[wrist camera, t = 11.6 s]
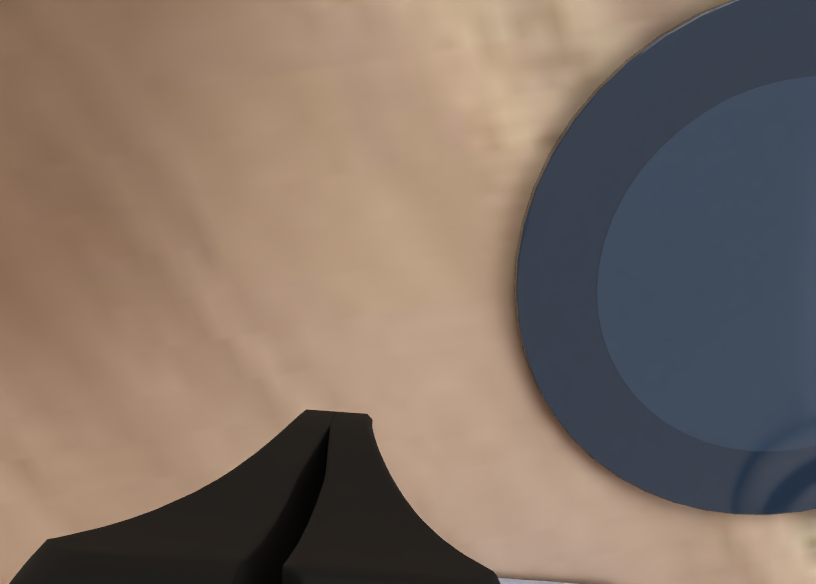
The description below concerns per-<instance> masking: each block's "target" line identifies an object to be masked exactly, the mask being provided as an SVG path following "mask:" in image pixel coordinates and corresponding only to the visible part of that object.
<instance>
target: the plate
mask: <svg viewBox="0 0 816 584" xmlns="http://www.w3.org/2000/svg"><path fill="white" fill-rule="evenodd" d="M514 291H515V302H516V314H517V323H518V327H519V332H520V336H521V340H522V345H523V349H524V353H525V356H526V359H527V361H528V364H529V366H530V369H531V371H532V374H533V377H534V379H535V382H536V384H537V387H538V388H539V390H540V392H541V394H542V396H543V397H544V399H545V401H546V403H547V404H548V406H549V408H550V410H551V411H552V413H553V414H554V416H555V417H556V418H557V420H558V421H559V422H560V423H561V425H562V426H563V427H564V429H565V430H566V431H567V433H568V434H569V435H570V436H571V438H572V439H573V440H575V441H576V442H577V443H578V444H579V445H580V446H581V447H582V448H583V449H584V450H585V451H586V452H587V453H588V454H589V455H590V456H591V457H592V458H593V459H595V460H596V461H597V462H599V463H600V464H601V465H603V466H604V467H605V468H607V469H608V470H610V471H611V472H612V473H614V474H615V475H616V476H618V477H620V478H621V479H623V480H625V481H627V482H629V483H631V484H632V485H634V486H636V487H638V488H640V489H642V490H643V491H646V492H648V493H651V494H653V495H656V496H659V497H661V498H664V499H666V500H669V501H671V502H674V503H678V504H682V505H686V506H690V507H694V508H698V509H702V510H707V511H715V512H723V513H730V514H754V515H771V514H781V513H792V512H802V511H807V510H812V509H816V0H730V1H728V2H726V3H723V4H721V5H718V6H716V7H714V8H711V9H709V10H707V11H704V12H702V13H699V14H697V15H695V16H693V17H691V18H690V19H688V20H686V21H684V22H683V23H681V24H679V25H677V26H676V27H674V28H672V29H670V30H669V31H667V32H665V33H663V34H662V35H660V36H658V37H657V38H656V39H654V40H653V41H652V42H650V43H649V44H648V45H646V46H645V47H644V48H642V49H641V50H640V51H638V52H637V53H636V54H634V55H633V56H631V57H630V58H629V59H627V60H626V61H625V62H624V63H623V64H622V65H621V66H620V67H619V68H618V69H617V70H616V71H614V72H613V73H612V74H611V75H610V76H609V77H608V78H607V79H606V80H605V81H604V82H603V83H602V84H601V85H600V86H599V87H598V88H597V89H596V90H595V91H594V92H593V93H592V95H591V96H590V97H589V98H588V99H587V101H586V102H585V103H584V104H583V106H582V107H581V108H580V109H579V110H578V112H577V113H576V114H575V115H574V116H573V118H572V119H571V120H570V122H569V123H568V125H567V126H566V128H565V130H564V131H563V133H562V134H561V136H560V137H559V139H558V141H557V142H556V144H555V145H554V147H553V148H552V150H551V152H550V153H549V155H548V158H547V160H546V162H545V164H544V166H543V168H542V170H541V172H540V174H539V177H538V179H537V181H536V183H535V185H534V187H533V190H532V193H531V197H530V200H529V203H528V206H527V209H526V212H525V215H524V218H523V221H522V226H521V232H520V237H519V242H518V248H517V253H516V266H515V287H514Z"/></svg>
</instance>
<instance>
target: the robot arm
mask: <svg viewBox="0 0 816 584" xmlns="http://www.w3.org/2000/svg"><path fill="white" fill-rule="evenodd" d="M9 584H577V583H564V582H550V581H536V580H522V579H509V578H498V577H497V575H496V574H495V573H494V572H493V571H492V570H490V569H488V568H486V567H485V566H483V565H481V564H479V563H478V562H476V561H474V560H472V559H471V558H469V557H467V556H465V555H464V554H462V553H461V552H459V551H458V550H457V549H455V548H454V547H452V546H451V545H450V544H448V543H447V542H446V541H444V540H443V539H442V538H441V537H440V536H438V535H437V534H436V533H435V532H434V531H433V530H432V529H431V528H430V527H429V526H428V525H427V524H426V523H425V522H424V521H423V520H422V519H421V518H420V517H419V516H418V515H417V513H416V512H415V511H414V510H413V508H412V507H411V506H410V505H409V503H408V502H407V501H406V499H405V498H404V496H403V495H402V493H401V492H400V490H399V489H398V487H397V485H396V484H395V482H394V480H393V478H392V477H391V475H390V473H389V471H388V469H387V467H386V465H385V463H384V460H383V458H382V456H381V454H380V452H379V449H378V446H377V443H376V440H375V437H374V433H373V429H372V419H371V418H370V417H369V415H368V414H360V413H347V412H333V411H319V410H305V411H304V412H303V413H302V414H300V415H299V416H298V417H297V418H296V419H295V420H294V421H292V422H291V423H290V424H289V425H288V426H287V427H286V428H285V429H284V430H283V431H281V432H280V433H279V434H278V435H277V436H276V437H275V438H273V439H272V440H271V441H270V442H269V443H267V444H266V445H265V446H264V447H263V448H261V449H260V450H259V451H258V452H257V453H255V454H254V455H253V456H251V457H250V458H248V459H247V460H246V461H244V462H243V463H242V464H240V465H239V466H238V467H236V468H235V469H233V470H232V471H230V472H229V473H227V474H226V475H224V476H222V477H221V478H219V479H218V480H216V481H214V482H212V483H210V484H209V485H207V486H205V487H203V488H201V489H200V490H198V491H196V492H194V493H192V494H190V495H187V496H185V497H183V498H181V499H178V500H176V501H174V502H172V503H170V504H167V505H165V506H163V507H161V508H158V509H156V510H153V511H151V512H148V513H145V514H142V515H140V516H137V517H134V518H131V519H128V520H125V521H121V522H118V523H115V524H112V525H108V526H105V527H101V528H97V529H93V530H88V531H84V532H80V533H75V534H71V535H67V536H62V537H58V538H52V539H47V540H46V541H45V542H44V543H43V545H42V546H41V547H40V548H39V549H38V550H37V551H36V552H35V553H34V554H33V555H32V556H31V558H30V559H29V560H28V561H27V562H26V563H25V564H24V566H23V567H22V568H21V569H20V571H19V572H18V573H17V574H16V576H15V577H14V578H13V579H12V581H11V582H10V583H9Z"/></svg>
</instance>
